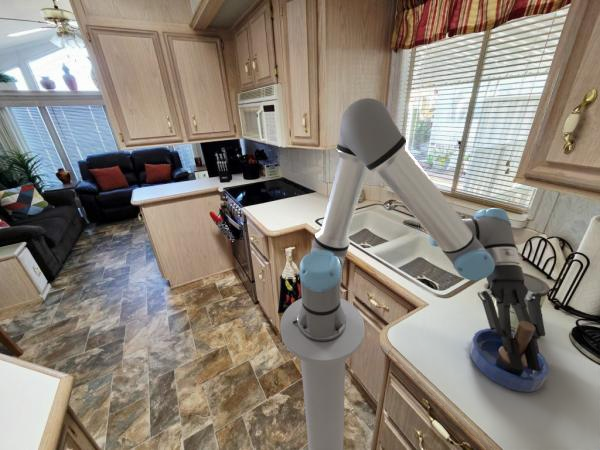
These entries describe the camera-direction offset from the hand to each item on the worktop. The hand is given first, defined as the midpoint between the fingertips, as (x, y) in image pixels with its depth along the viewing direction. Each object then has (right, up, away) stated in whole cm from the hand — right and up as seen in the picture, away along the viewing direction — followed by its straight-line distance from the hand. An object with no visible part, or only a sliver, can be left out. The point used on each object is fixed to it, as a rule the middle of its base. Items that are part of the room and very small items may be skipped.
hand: (525, 369), depth 56 cm
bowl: (+1, -3, +7) cm, 8 cm away
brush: (+1, -3, +5) cm, 6 cm away
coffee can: (+14, +4, +20) cm, 25 cm away
